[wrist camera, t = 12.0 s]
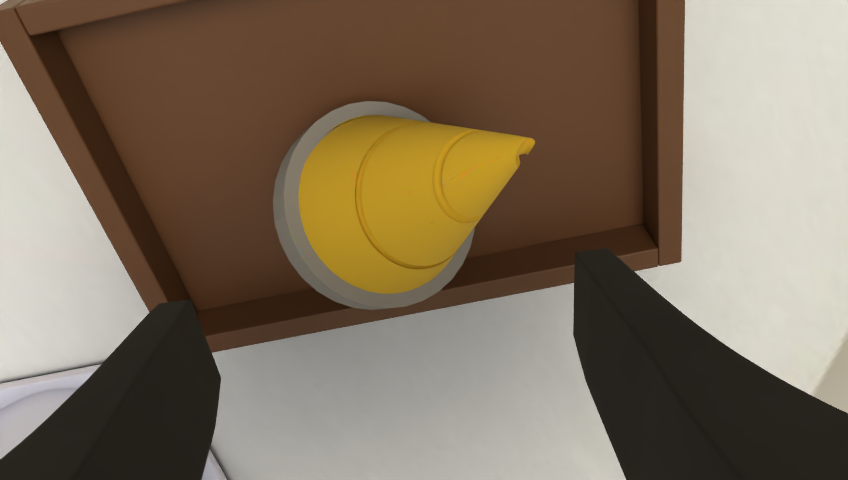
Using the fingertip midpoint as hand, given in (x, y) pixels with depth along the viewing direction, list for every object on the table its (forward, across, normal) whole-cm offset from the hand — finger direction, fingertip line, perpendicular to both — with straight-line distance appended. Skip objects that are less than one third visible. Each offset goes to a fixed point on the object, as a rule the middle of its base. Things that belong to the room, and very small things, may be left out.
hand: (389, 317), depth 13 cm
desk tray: (+8, 0, 0) cm, 8 cm away
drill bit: (+8, 0, 0) cm, 8 cm away
